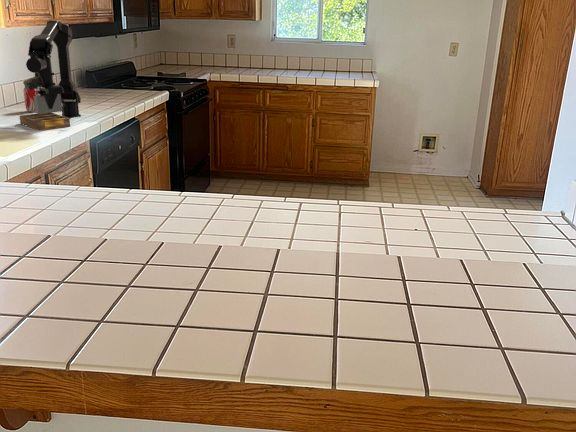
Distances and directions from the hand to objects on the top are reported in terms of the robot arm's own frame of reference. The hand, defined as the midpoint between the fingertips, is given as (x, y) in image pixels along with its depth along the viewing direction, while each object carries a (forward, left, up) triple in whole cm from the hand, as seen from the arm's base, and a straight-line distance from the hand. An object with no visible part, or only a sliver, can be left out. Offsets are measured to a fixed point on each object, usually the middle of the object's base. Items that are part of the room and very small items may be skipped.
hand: (49, 108), depth 235 cm
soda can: (-10, -41, -8) cm, 43 cm away
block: (0, 0, -2) cm, 2 cm away
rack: (0, -6, -8) cm, 10 cm away
